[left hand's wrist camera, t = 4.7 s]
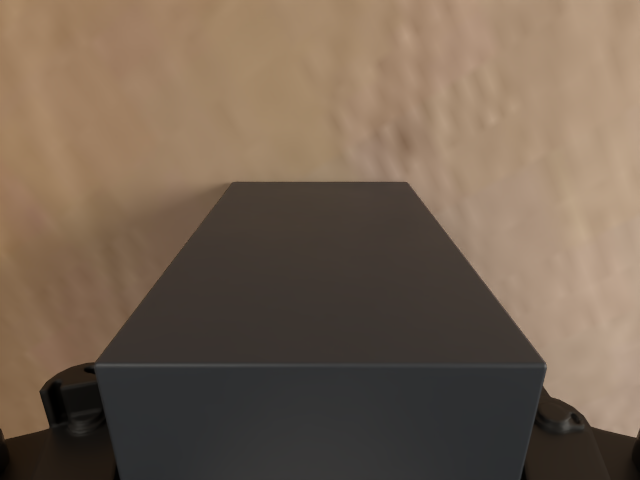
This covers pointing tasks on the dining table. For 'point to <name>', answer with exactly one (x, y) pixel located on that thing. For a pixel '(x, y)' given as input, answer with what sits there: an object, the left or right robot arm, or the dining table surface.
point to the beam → (320, 348)
